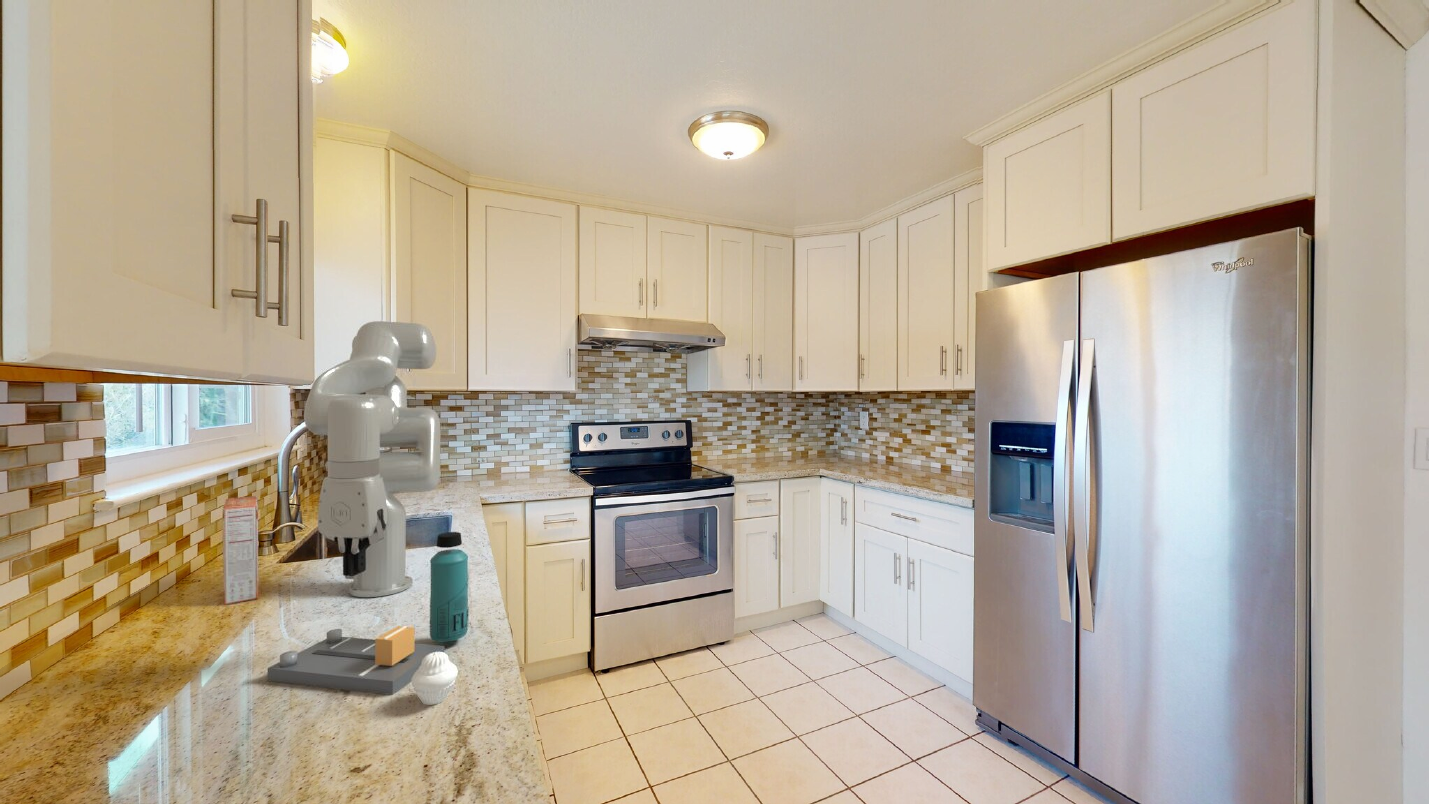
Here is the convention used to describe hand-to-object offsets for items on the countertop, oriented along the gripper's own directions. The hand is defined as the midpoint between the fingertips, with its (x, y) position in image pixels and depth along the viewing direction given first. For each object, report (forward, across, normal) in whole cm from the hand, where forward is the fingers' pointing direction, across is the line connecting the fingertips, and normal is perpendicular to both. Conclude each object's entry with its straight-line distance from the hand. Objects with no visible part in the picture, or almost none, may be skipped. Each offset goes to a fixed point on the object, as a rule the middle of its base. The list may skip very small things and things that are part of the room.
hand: (354, 573), depth 96 cm
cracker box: (+17, -47, +19) cm, 53 cm away
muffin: (+13, +24, -12) cm, 30 cm away
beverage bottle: (+14, +14, +6) cm, 21 cm away
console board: (+13, +6, -6) cm, 16 cm away
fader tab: (+11, +12, -5) cm, 17 cm away
